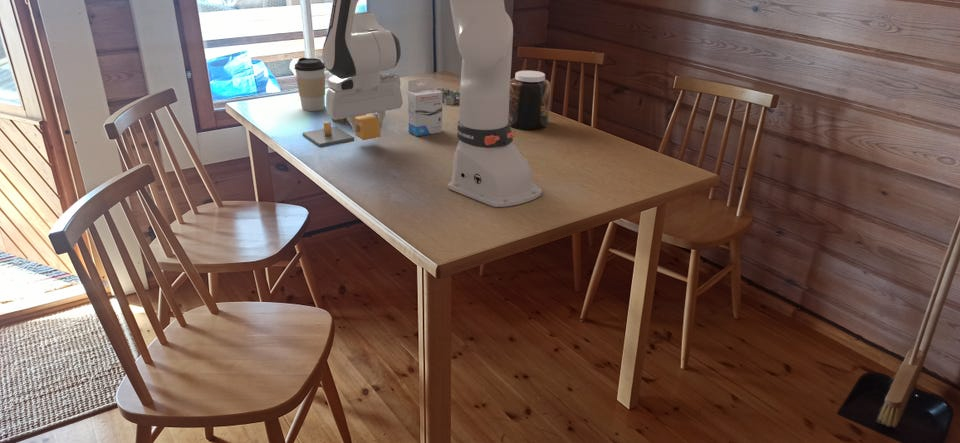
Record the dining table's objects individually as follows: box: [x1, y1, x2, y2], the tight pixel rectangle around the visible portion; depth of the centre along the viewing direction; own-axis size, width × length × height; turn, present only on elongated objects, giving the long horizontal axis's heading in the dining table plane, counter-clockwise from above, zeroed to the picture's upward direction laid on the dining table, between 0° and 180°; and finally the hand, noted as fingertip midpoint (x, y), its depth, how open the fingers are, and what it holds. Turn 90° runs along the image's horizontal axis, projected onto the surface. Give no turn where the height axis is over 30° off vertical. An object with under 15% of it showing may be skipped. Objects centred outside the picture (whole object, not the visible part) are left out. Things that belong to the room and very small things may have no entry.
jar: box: [508, 70, 551, 131], centre depth 195 cm, size 12×12×15 cm
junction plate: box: [302, 121, 355, 148], centre depth 183 cm, size 11×10×4 cm
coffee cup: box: [294, 57, 326, 112], centre depth 205 cm, size 9×9×15 cm
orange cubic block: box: [354, 113, 382, 141], centre depth 177 cm, size 5×5×5 cm
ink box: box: [407, 77, 443, 137], centre depth 187 cm, size 8×5×15 cm, turn 123°
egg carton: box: [435, 87, 460, 106], centre depth 219 cm, size 11×8×4 cm
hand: (367, 129), depth 177 cm, fingers closed on orange cubic block, 5 cm apart
